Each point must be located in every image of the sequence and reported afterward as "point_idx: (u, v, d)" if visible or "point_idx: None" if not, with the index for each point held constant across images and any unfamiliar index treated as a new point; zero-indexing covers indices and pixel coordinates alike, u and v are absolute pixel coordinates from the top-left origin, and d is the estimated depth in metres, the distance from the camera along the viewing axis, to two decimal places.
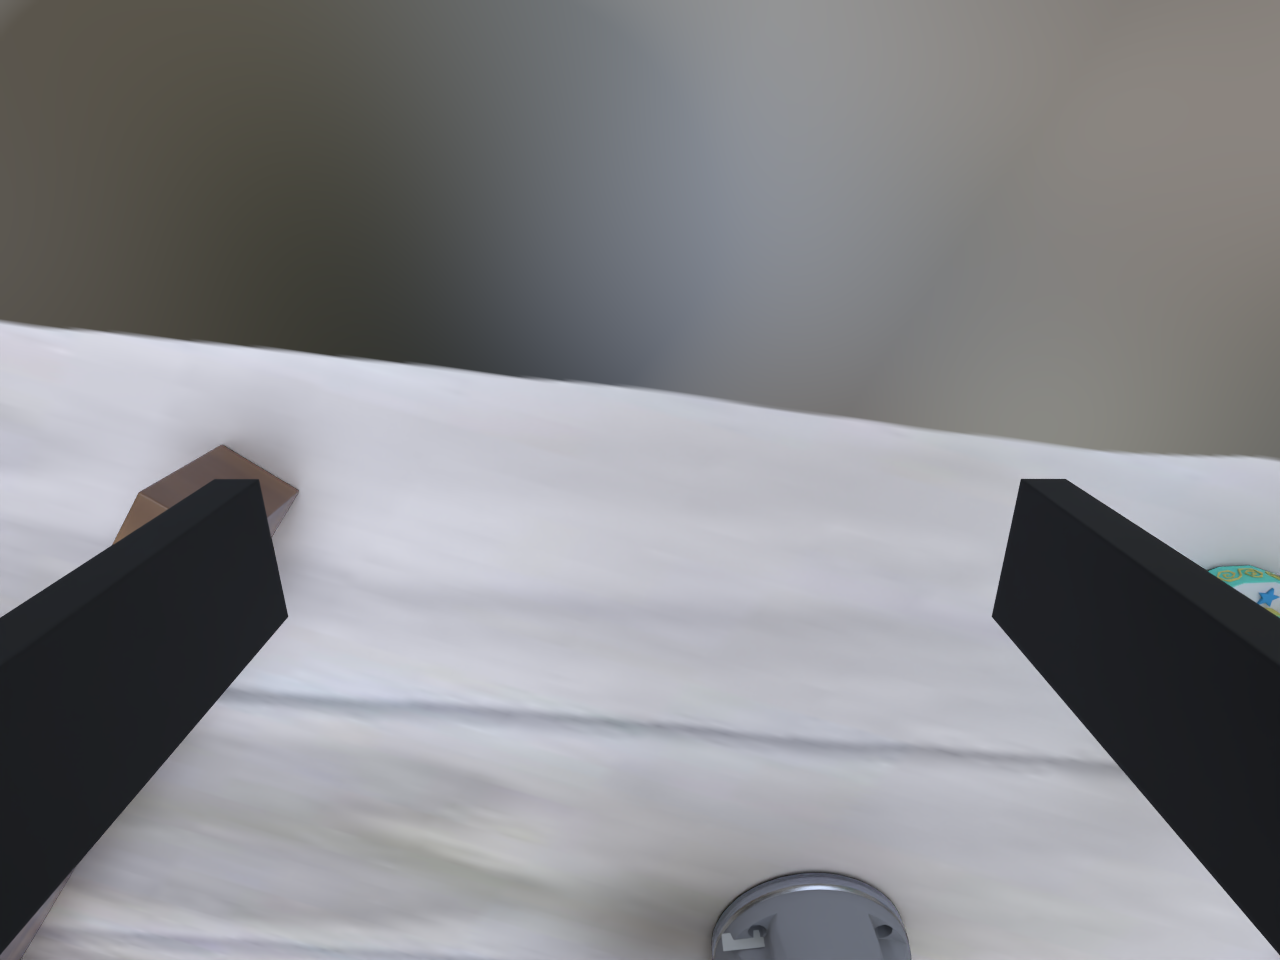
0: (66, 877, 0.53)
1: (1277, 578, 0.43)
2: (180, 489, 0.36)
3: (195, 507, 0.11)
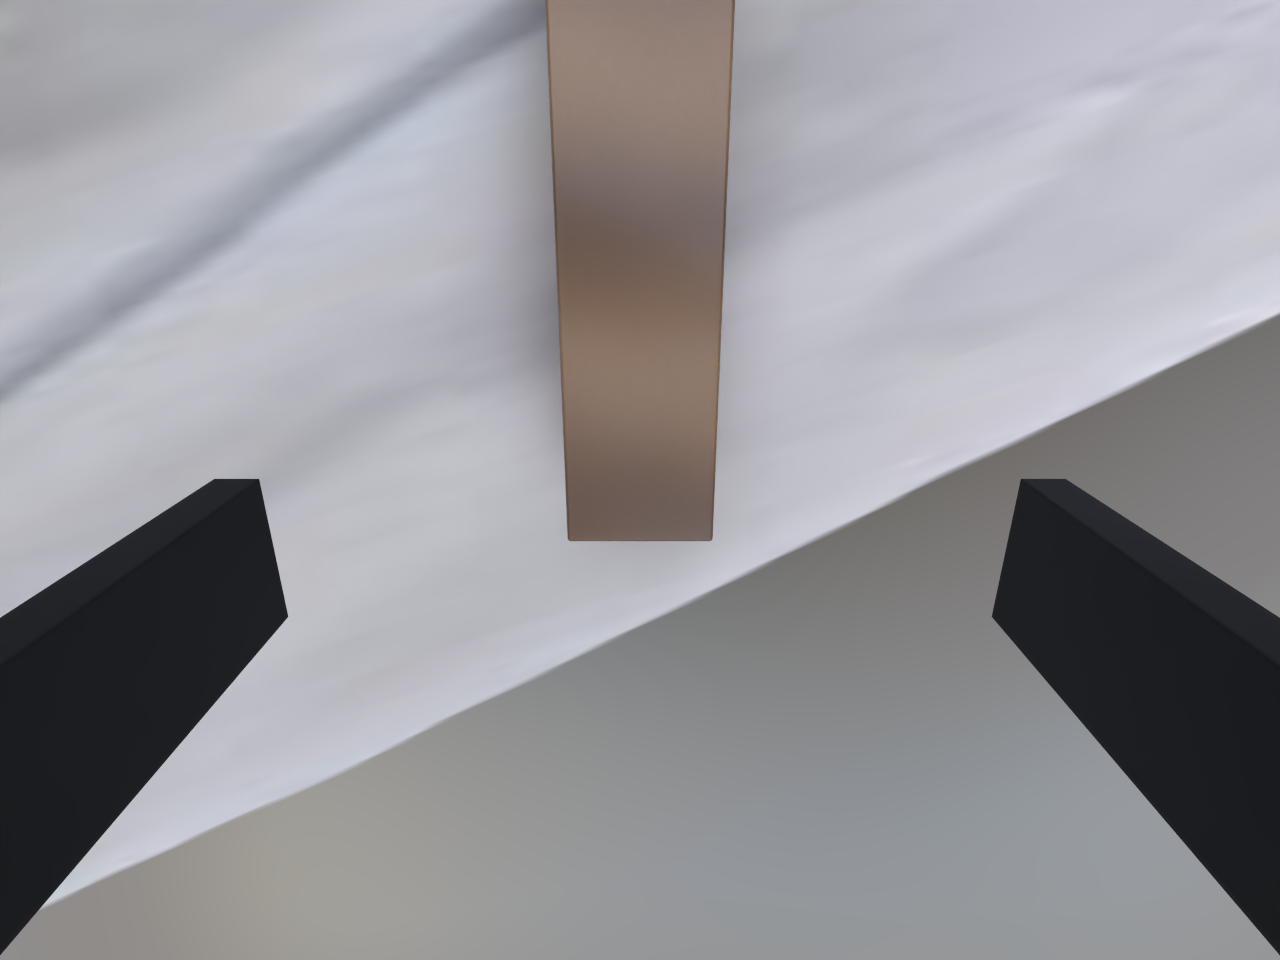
0: None
1: None
2: None
3: (195, 507, 0.11)
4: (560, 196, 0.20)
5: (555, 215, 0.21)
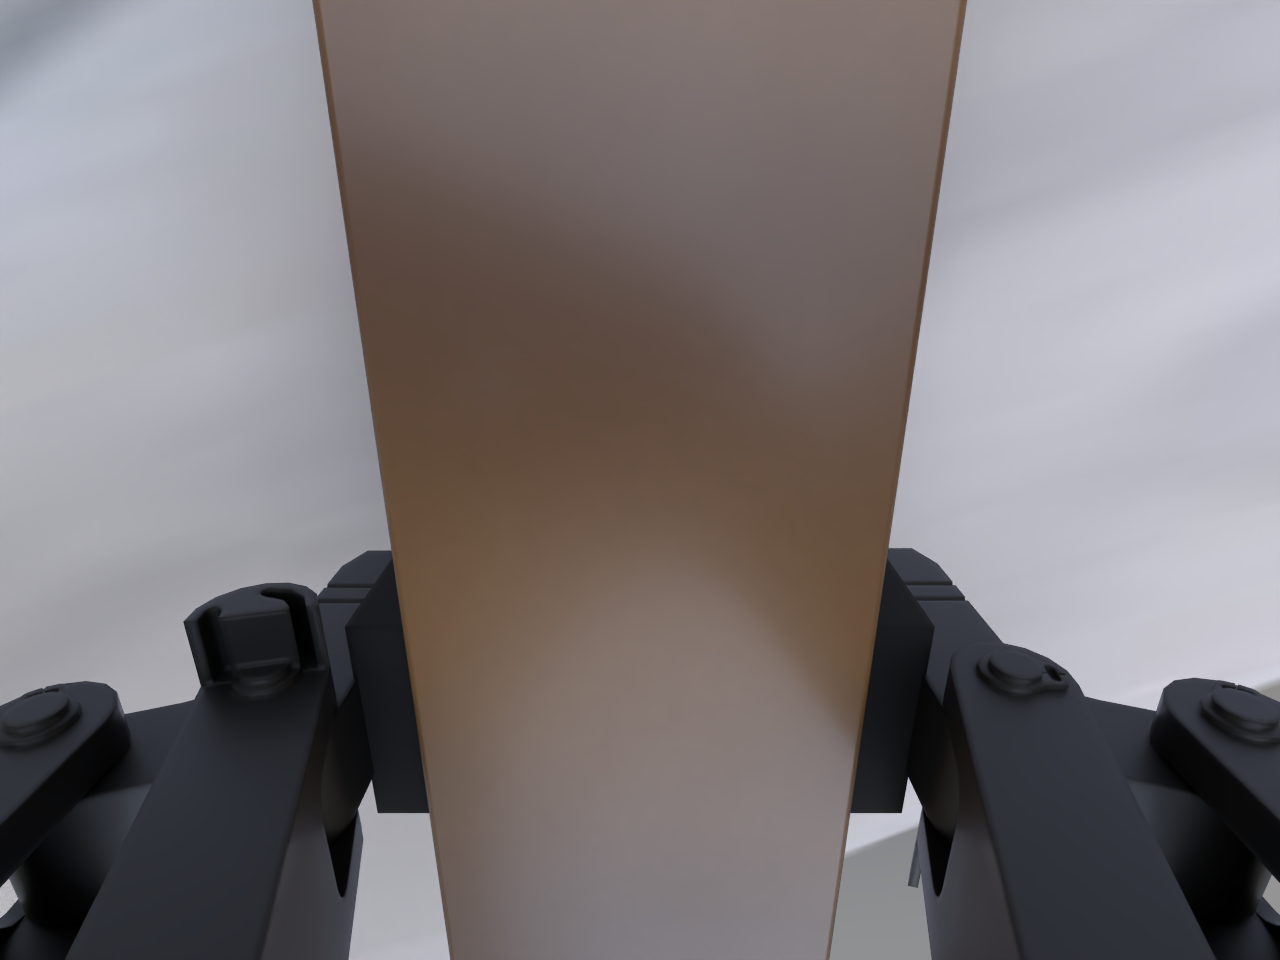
0: None
1: None
2: None
3: None
4: (359, 179, 0.06)
5: (349, 245, 0.06)
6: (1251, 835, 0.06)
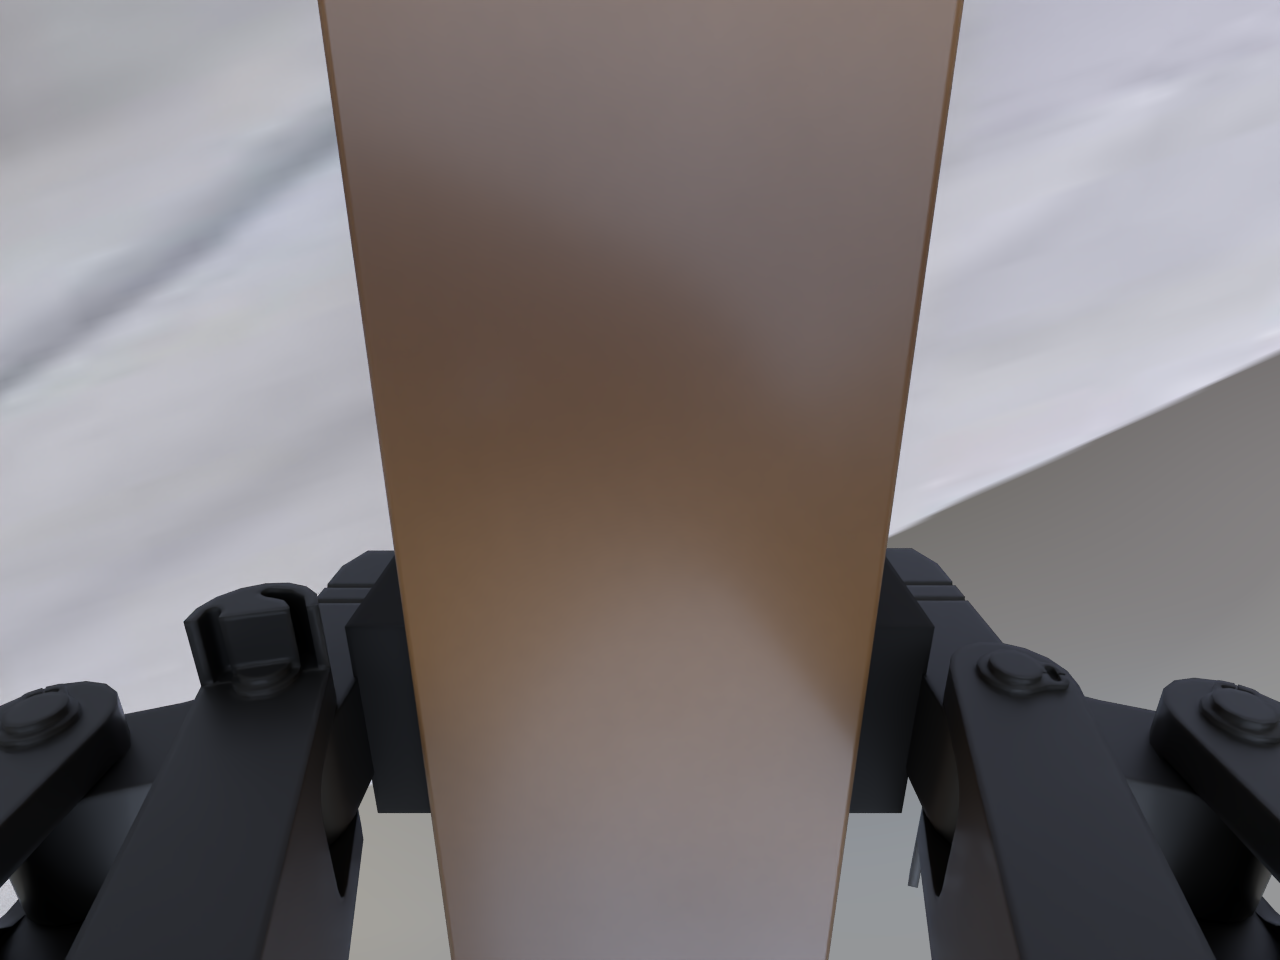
0: None
1: None
2: None
3: None
4: (363, 180, 0.06)
5: (354, 245, 0.06)
6: (1251, 835, 0.06)
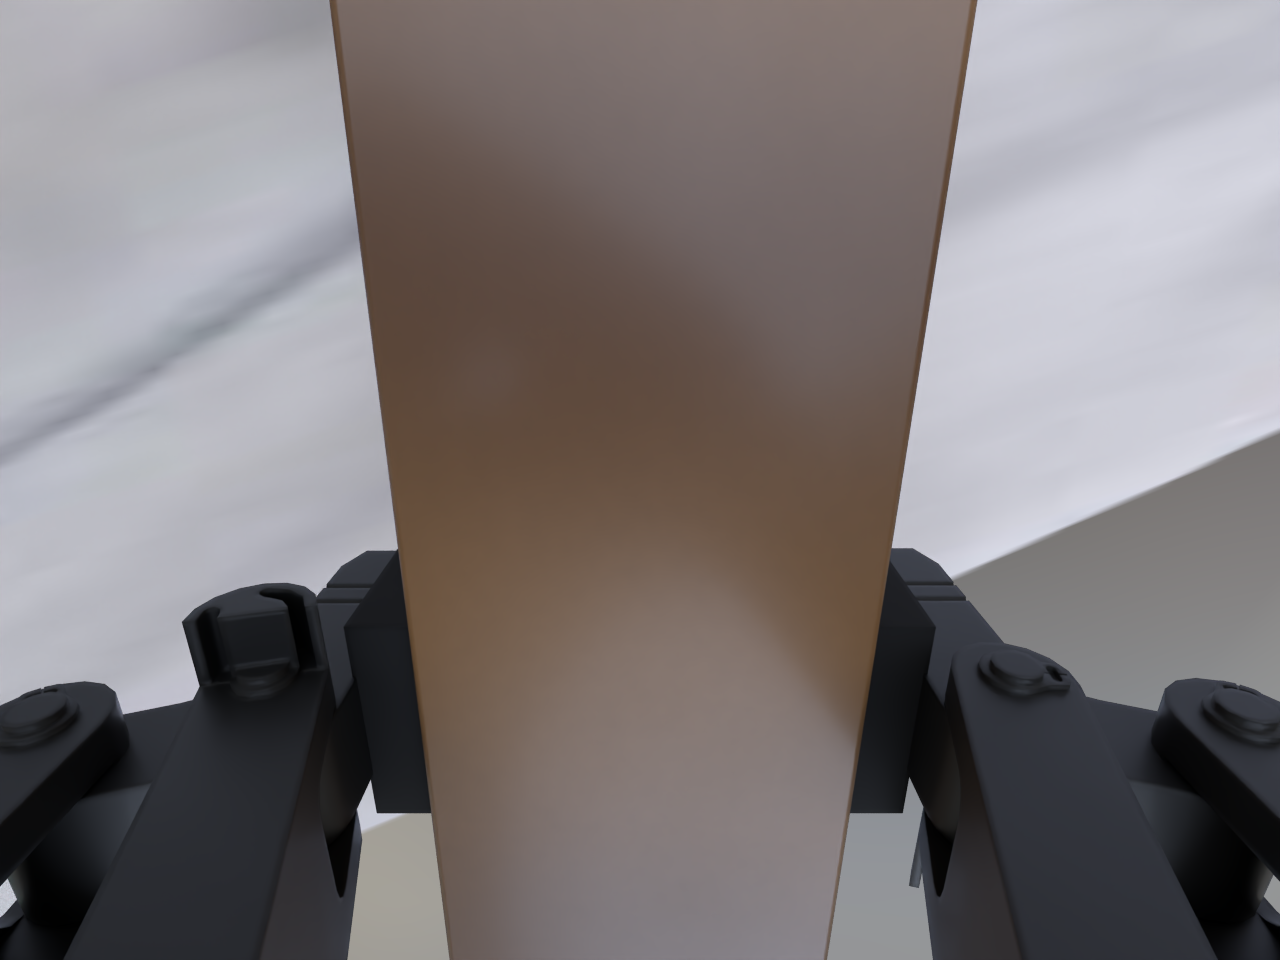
0: None
1: None
2: None
3: None
4: (372, 178, 0.06)
5: (362, 243, 0.06)
6: (1253, 835, 0.06)
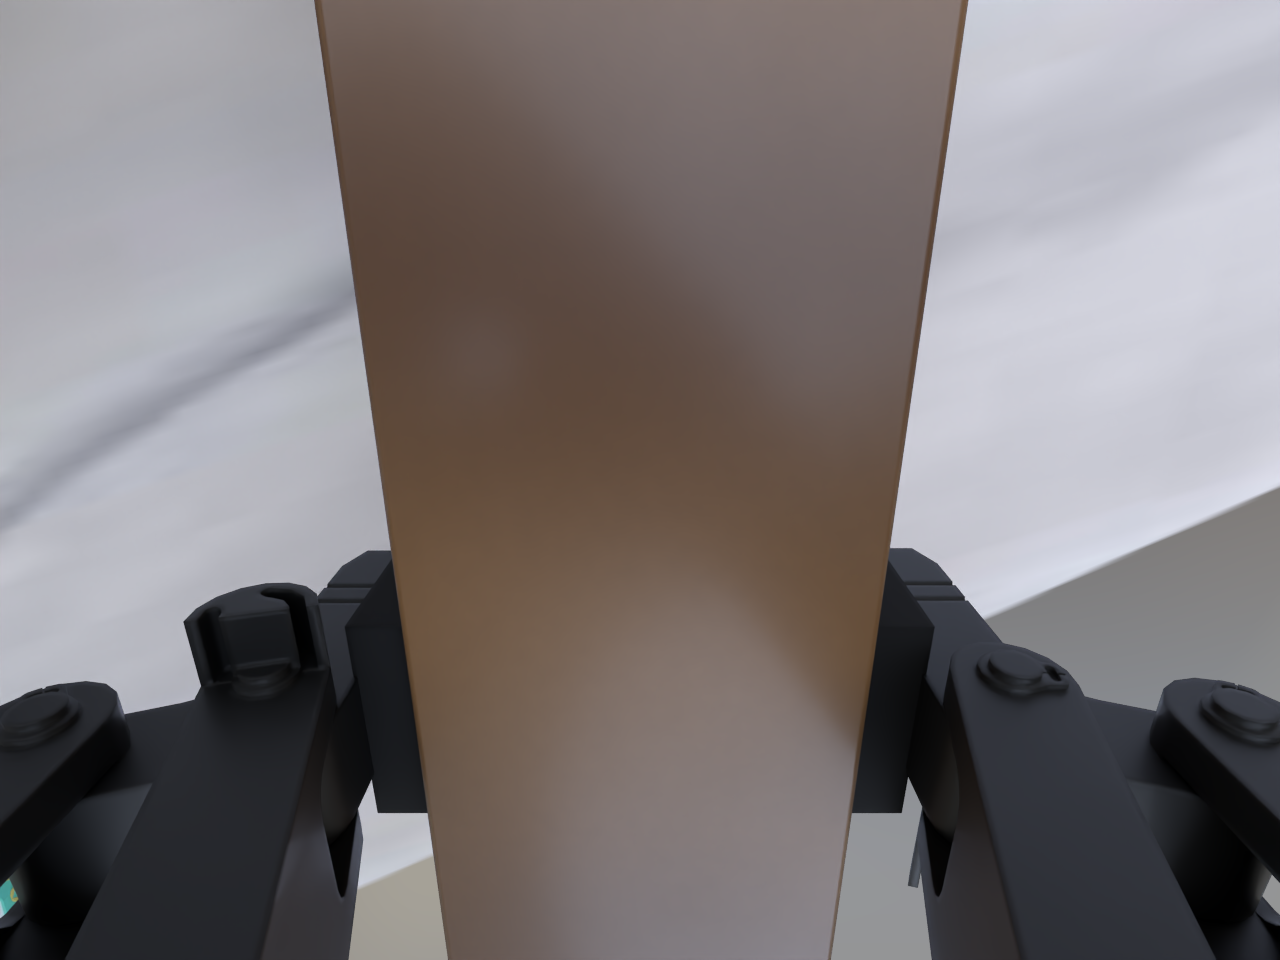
0: None
1: None
2: None
3: None
4: (360, 176, 0.06)
5: (350, 242, 0.06)
6: (1251, 836, 0.06)
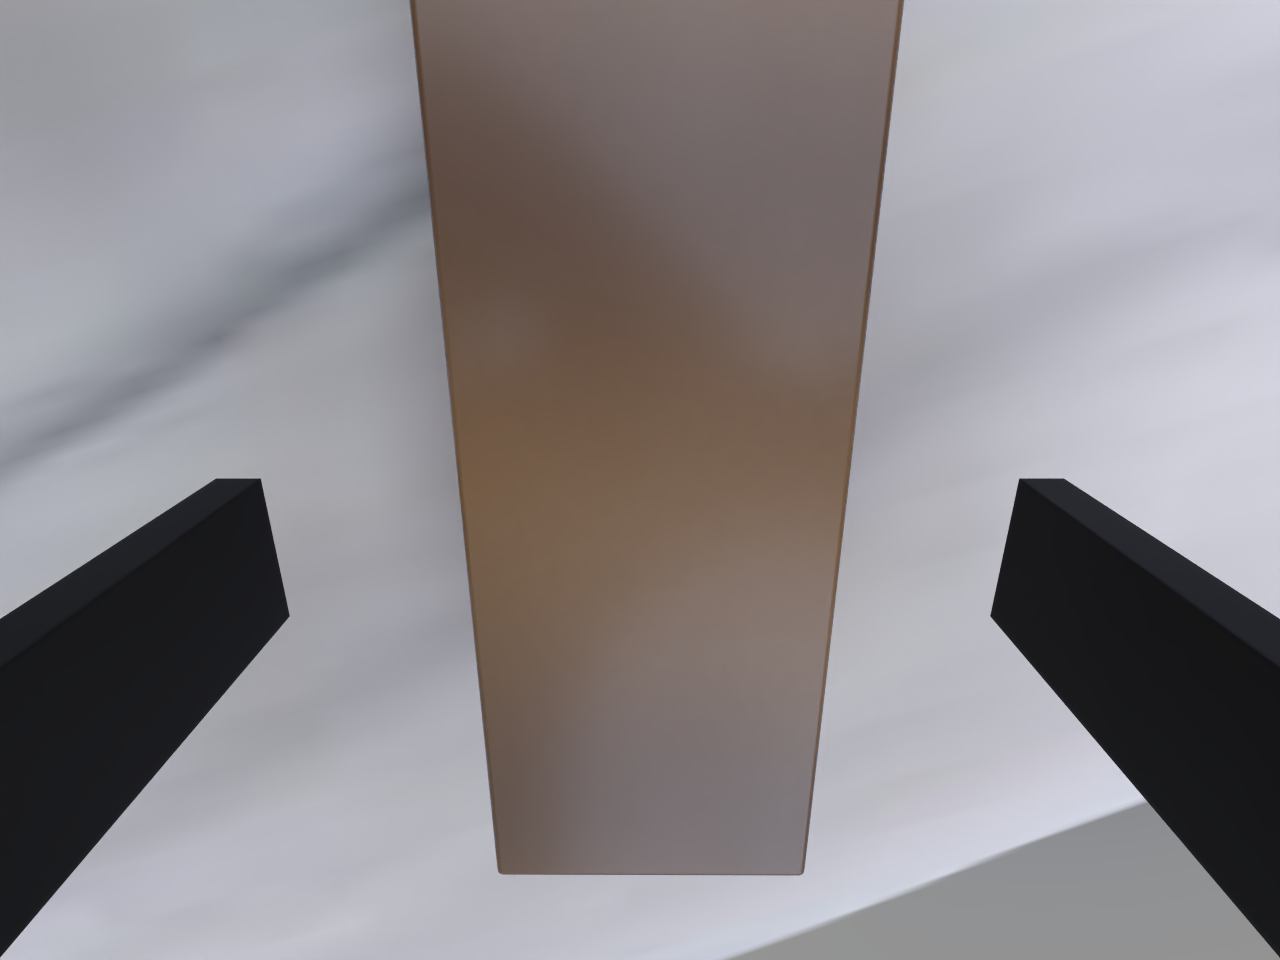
0: None
1: None
2: None
3: (197, 506, 0.11)
4: (438, 113, 0.07)
5: (428, 167, 0.08)
6: None
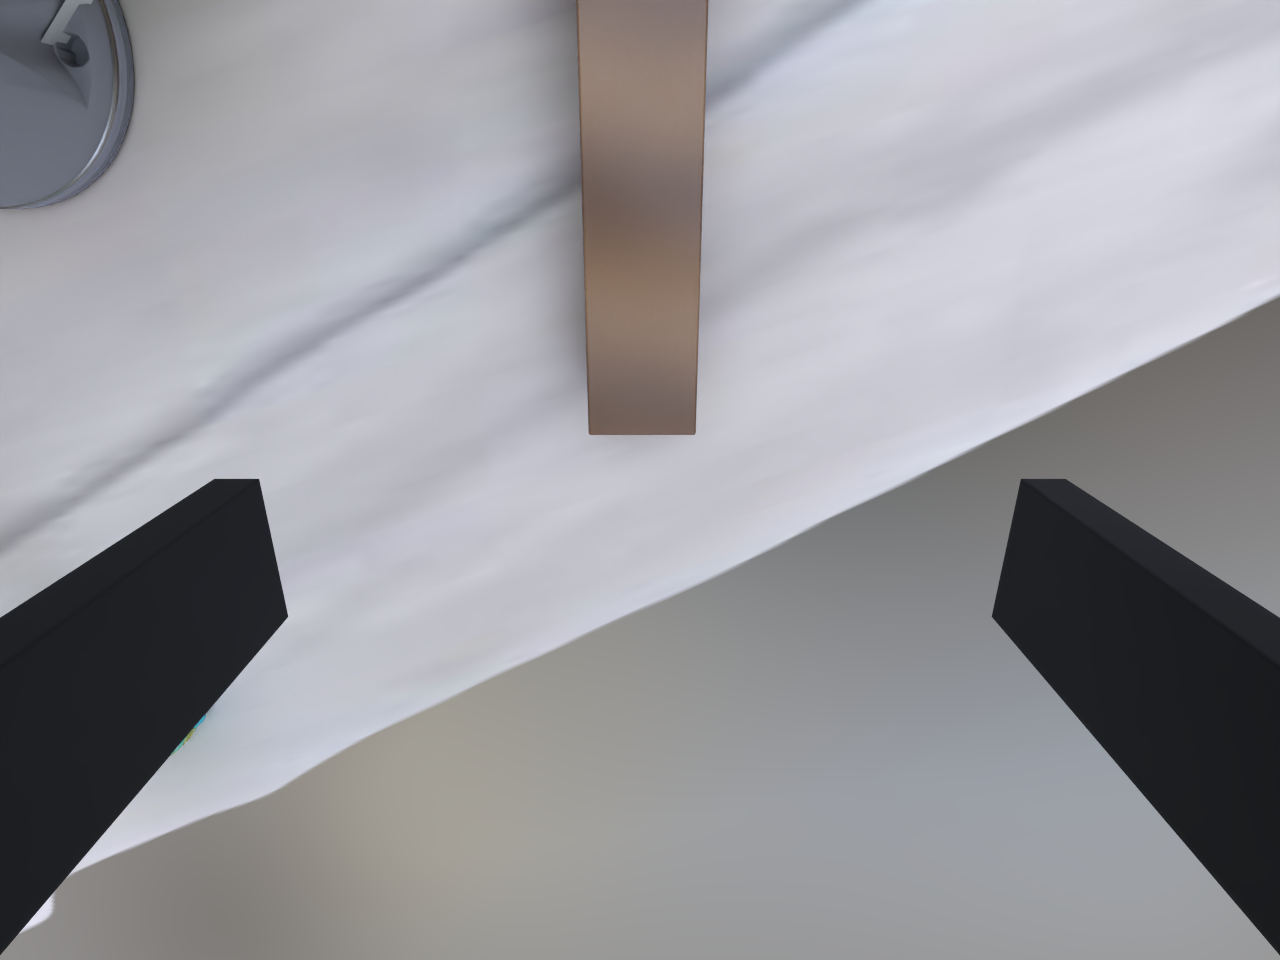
0: None
1: None
2: None
3: (195, 506, 0.11)
4: (586, 178, 0.29)
5: (582, 191, 0.29)
6: None
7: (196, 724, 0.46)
